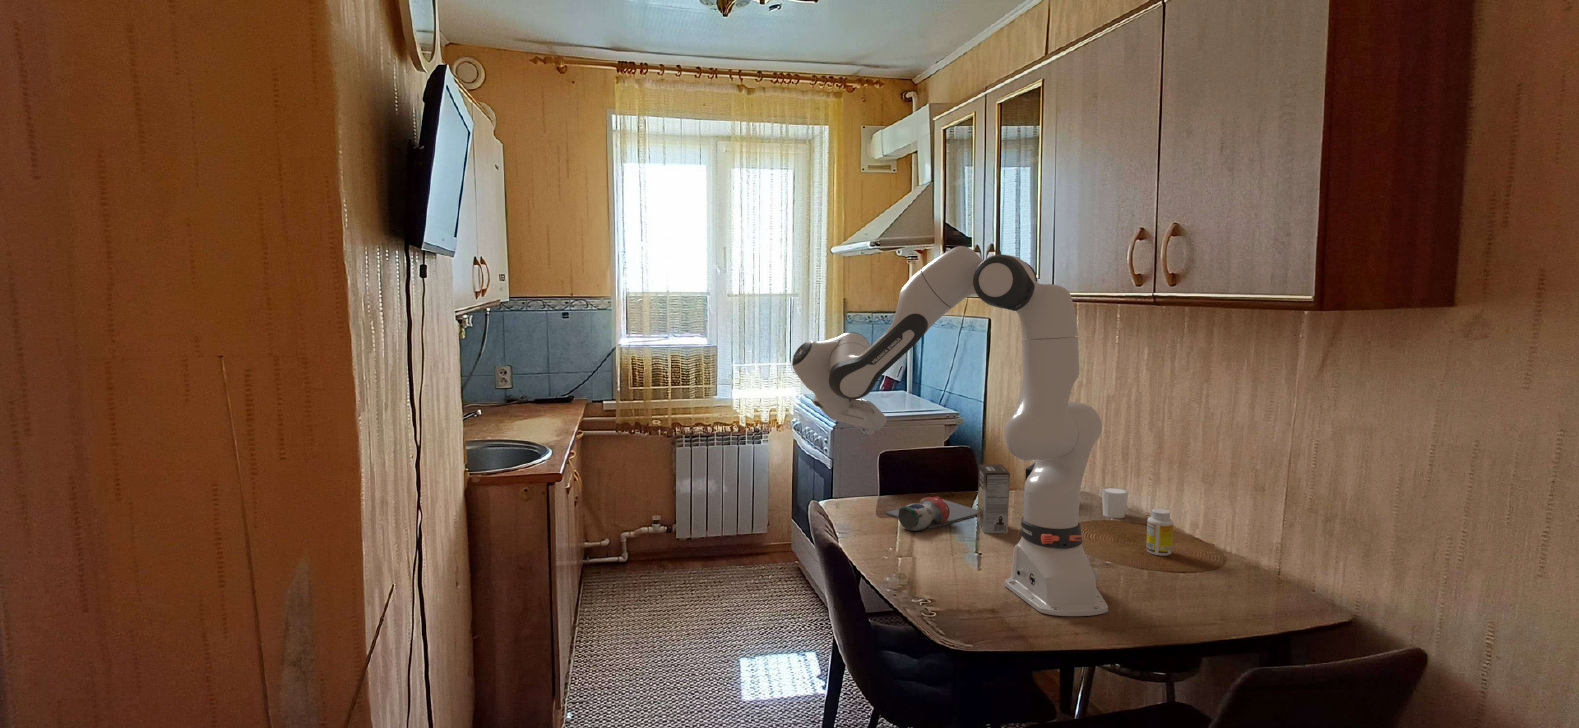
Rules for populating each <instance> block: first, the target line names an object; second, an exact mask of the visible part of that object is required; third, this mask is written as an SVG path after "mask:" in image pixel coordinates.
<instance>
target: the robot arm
mask: <svg viewBox="0 0 1579 728" xmlns="http://www.w3.org/2000/svg"><path fill="white" fill-rule="evenodd" d="M972 295H977V297H978V299H980V300H981V301H983V302H984V303H985V304H987V305H989V306H991V307H994V308H999V309H1006V310H1009V311H1012V312H1016V313H1017V314H1018V317H1019V319H1020V327H1021V339H1022V340H1021V345H1022V347H1021V349H1022V352H1021V353H1022V381H1021V387H1020V391H1019V396H1018V400H1017V403H1016V407H1015V410H1014V411H1013V414H1012V415H1011V416H1010V418H1009V420H1008V421H1007V423H1006V424H1005V427H1004V433H1003V434H1004V441H1005V445H1006V447H1007V450H1009V452H1010V453H1011V454H1012V455H1013V456H1014V457H1016V458H1018V459H1019V460H1021V461H1022V460H1023V461H1027V462H1034V463H1035V466H1034V468H1033V470H1032V472H1031V474H1030V475H1029V476H1028V478H1027V480H1026V482H1025V481H1024V482H1025V483H1024V489H1023V490H1024V492H1023V494H1024V497H1023V516H1022V517H1021V520H1020V524H1019V525H1020V536H1021V538H1020V539H1019V541H1018V543H1016V544H1015V546H1014V547H1013V550H1012V551H1013V553H1012V560H1011V561H1012V563H1011V571H1010V577H1008V578H1005V579H1004V583H1003V585H1004V587H1006V588H1008V590H1010V591H1011V592H1012V593H1014V594H1015V595H1017V596H1018V597H1019V598H1020V599H1022V600H1023V601H1024V602H1025V603H1027V604H1029V605H1030V606H1031V608H1034V609H1035V610H1036V611H1038V612H1039V613H1042V614H1046V615H1051V616H1059V617H1060V616H1061V617H1085V616H1086V617H1087V616H1088V617H1089V616H1097V615H1101V614H1106V613H1108V612H1109V606H1108V604H1107V603H1106V601H1105V599H1104V598H1103V596H1102V594H1101V593H1100V591H1099V589H1098V588H1097V583H1096V582H1097V580H1099V579H1100V570H1099V568H1097V567H1096V568H1095V567H1092V566H1091V557H1090V556H1089V555H1087V554H1086V551H1085V549H1084V547H1083V545H1082V544H1083V536H1082V535H1083V533H1082V529H1081V528H1082V527H1081V522H1080V521H1079V518H1080V517H1079V516H1080V501H1081V500H1080V499H1081V490H1082V483H1083V478H1084V474H1085V471H1086V467H1087V464H1088V462H1089V459H1090V455H1091V453H1092V450H1093V448H1094V445H1095V444H1096V442H1097V441H1099V440H1098V439H1099V438H1100V436H1101V434H1102V428H1103V424H1102V419H1101V417H1100V415H1099V413H1098V412H1097V411H1096V409H1095V408H1094V407H1092V406H1090V405H1088V404H1086V403H1081V402H1076V401H1070V396H1071V393H1072V389H1073V387H1074V384H1075V382H1076V381H1077V379H1078V378H1079V375H1080V357H1079V353H1080V352H1079V335H1078V333H1079V332H1078V325H1077V318H1076V317H1077V316H1076V315H1077V314H1076V311H1075V306H1074V302H1073V298H1072V295H1071V293H1070V291H1069V290H1068V289H1067V288H1065V287H1063V286H1061V285H1058V284H1052V283H1050V284H1049V283H1048V284H1046V283H1044V284H1043V283H1039V282H1038V277H1037V273H1036V271H1035V270H1034V268H1033V267H1032V266H1031V265H1030V264H1029V263H1028V262H1026V261H1024V260H1023V259H1021V258H1020V257H1017V256H1015V255H1009V254H1001V253H999V254H993V255H990V256H989V257H986V258H985V259H982V258H981V257H980V255H979V254H978V253H977V252H976V251H975V250H973V249H972V248H970V247H967V246H965V245H964V246H963V245H960V246H959V245H958V246H955V247H953V248H952V249H949V250H946V251H945V252H944V253H942V254H940V255H938V257H935V258H934V259H933V260H931V261H929V262H928V263H926V265H925V266H923V267H922V268H920V269H919V270H918V271H917V272H916V273H914V274H913V275H912V276H911V277H910V278H909V279H908V280H907V282H906V283H905V284H904V285H903V286H902V288H901V290H900V292H899V295H898V301H897V306H896V310H895V314H894V317H893V320H892V322H891V324H890V326H889V327H888V329H887V330H886V331H885V333H884V334H883V335H881V337H879V338H878V339H877V340H876V341H875V342H874V343H872V344H871V346H870V342H869V340H868V339H867V338H866V337H865V336H864V335H862V334H860V333H857V332H854V331H848V332H843V333H840V334H839V335H837V336H836V337H833V338H830V339H826V340H821V341H820V340H807V341H805V342H804V343H802V344H801V345H800V346H799V347H798V348H797V349H796V351H795V353H793V356H792V360H791V361H792V363H791V365H792V369H793V370H794V372H795V373H796V376H797V377H798V379H799V380H800V381H801V382H802V383H803V385H804V386H805V387H806V388H807V389H808V390H809V391H811V392H813V395H815V396H814V397H813V399H812V400H811V403H812V404H813V405H814V406H815V407H818V408H819V409H820V410H821V411H822V412H823V413H824V414H825V415H826V416H827V417H828V418H830V420H832V421H835V422H840V423H842V424H843V423H844V424H849V425H853V427H855V428H857V429H858V430H859V431H861V433H862V434H863V435H864V434H865V435H867V436H868V435H869V436H873V435H874V433H876V432H875V431H881V430H882V429H883V428H884V426H885V425H886V424H887V421H888V419H887V416H886V415H885V414H884V413H883V412H882V411H881V410H880V409H879V408H878V407H877V406H876V405H875V404H874V403H873V402H872V401H870V400H868V399H863V398H864V397H866V396H868V395H869V394H870V393H871V392H872V391H873V388H875V386H876V384H877V382H878V380H879V379H880V377H882V375H883V374H884V373H886V371H888V370H889V368H891V367H892V366H893V365H894V364H895V363H896V362H897V361H899V360H900V359H901V358H902V357H903V356H904V355H905V354H907V353H908V352H909V351H910V350H911V348H913V347H914V346H915V345H916V344H917V343H918V342H919V340H921V339H922V338H923V336H924V335H926V333H927V332H928V330H930V328H931V327H932V326H933V325H934V324H935V323H936V322H938V320H940V318H942V317H943V316H944V315H945V314H946V313H948V312H950V310H951V309H953V308H954V307H955V306H957V305H958V304H959V303H960V302H962V301H963V300H965V299H966V298H968V297H971V296H972Z"/></svg>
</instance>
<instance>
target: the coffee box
mask: <svg viewBox="0 0 1579 728" xmlns="http://www.w3.org/2000/svg"><path fill="white" fill-rule="evenodd" d="M1010 477H1011V473H1010V472H1009V471H1008V469H1007V468H1006V467H1005V466H1004V465H1003V464H999V463H998V464H978V478H977V480H978V481H977V483H978V484H977V485H978V486H977V510H978V511H977V516H976V517H977V520H976V521H977V524H978V526H979V527H980V529H981V528H982V529H981V530H982V532H983V533H984V534H1008V533H1009V532H1008V531H1009V505H1010V504H1009V502H1010V482H1011V481H1010Z"/></svg>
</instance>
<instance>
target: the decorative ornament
mask: <svg viewBox="0 0 1579 728" xmlns="http://www.w3.org/2000/svg"><path fill="white" fill-rule="evenodd" d="M942 499H943V498H942V497H940V496H933V497H932V496H927V497H923V498H922V499H920V501H919V503H910V504H908V505H902V506H901V507H900V508H898V509H899V514H898V518H899V519H898V518H897V519H898V521H899V522H900V524H901V526H902V527H903V528H904V529H906V530H908V531H921V530H923V529H927V528H926V527H927V526H928V525H929V524H930V523H931V521H932V522H936V523H944V522H945V521H946V520H947V519H948V517H949V513H950V510H949V507H948V505H947V504H946V503H945V502H944V501H942Z"/></svg>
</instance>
